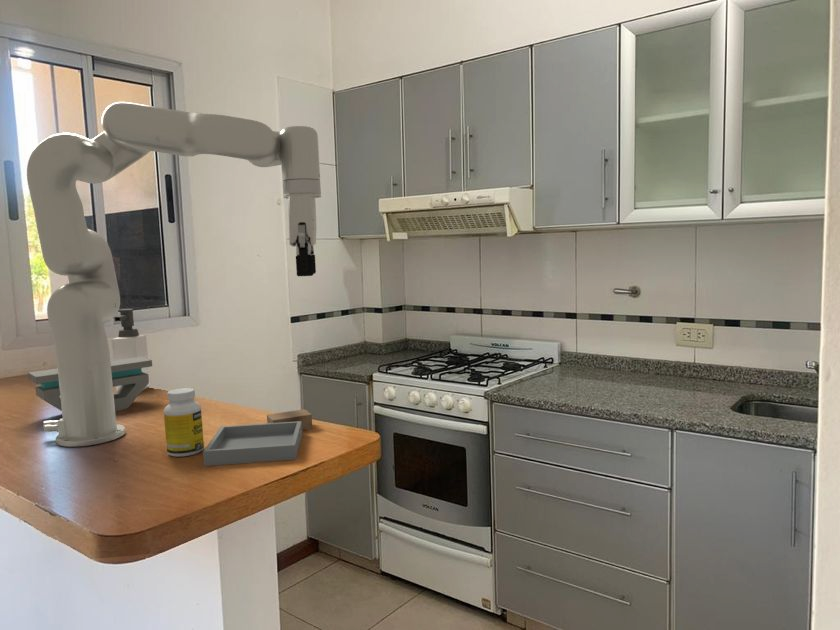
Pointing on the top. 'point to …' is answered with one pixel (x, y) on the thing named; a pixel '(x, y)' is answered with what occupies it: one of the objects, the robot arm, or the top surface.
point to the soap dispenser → (129, 341)
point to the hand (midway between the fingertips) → (306, 274)
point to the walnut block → (292, 418)
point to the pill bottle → (183, 423)
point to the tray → (254, 443)
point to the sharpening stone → (123, 375)
